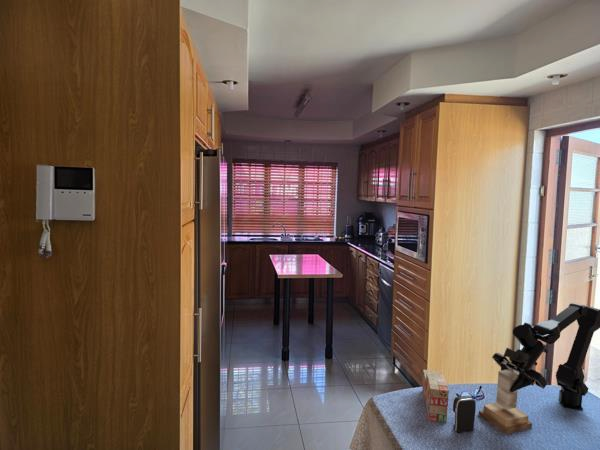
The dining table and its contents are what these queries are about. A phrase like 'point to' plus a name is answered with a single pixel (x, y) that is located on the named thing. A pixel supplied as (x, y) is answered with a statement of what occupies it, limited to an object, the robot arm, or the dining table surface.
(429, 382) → the stack of blocks
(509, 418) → the maple block
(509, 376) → the ash block
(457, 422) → the battery charger
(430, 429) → the dining table surface
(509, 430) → the wooden base plate
